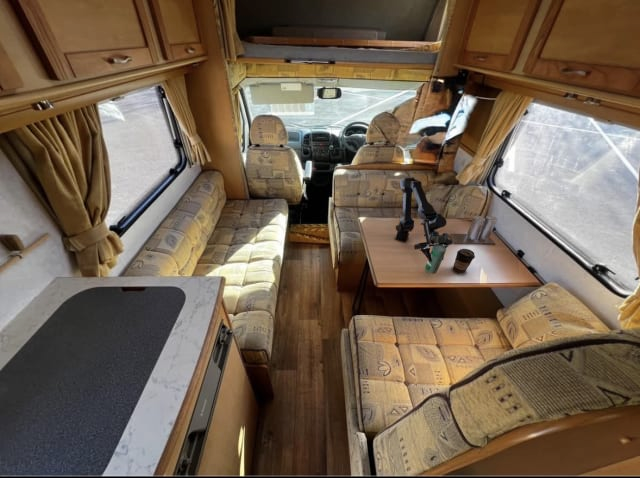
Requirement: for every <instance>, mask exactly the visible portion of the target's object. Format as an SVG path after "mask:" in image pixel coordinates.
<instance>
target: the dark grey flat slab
mask: <svg viewBox="0 0 640 478" xmlns="http://www.w3.org/2000/svg"><path fill="white" fill-rule="evenodd" d="M466 235H467V233H448V236H449V239H451V240H452V242H453V244H454V245H485V246H486V245H487V246H489V245H492V246H495V244H496V242H495V241H494V240H493V239H492V238H491V237H490V236H489V239H488V240H487V241H481V240H479V239H478V238H476V240H475V241H470V240H468V239H466ZM477 237H478V236H477Z"/></svg>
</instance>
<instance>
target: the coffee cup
mask: <svg viewBox="0 0 640 478" xmlns="http://www.w3.org/2000/svg"><path fill="white" fill-rule="evenodd" d="M474 259H476V255H475V252H474V251H473V250H471V249H468V248H460V249H459V250H457V251H456V256H455V260H454V263H453V267H452V271H453V272H454V273H456V274H457V275H465V274H466V273H467V269H468V268H469V267H470V265H471V263H472V262H473V260H474Z"/></svg>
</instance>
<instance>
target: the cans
mask: <svg viewBox="0 0 640 478" xmlns="http://www.w3.org/2000/svg"><path fill="white" fill-rule="evenodd" d="M497 221H498V218H497V217H495V216H493V215H486V217H483V216H481V215H474V216H473V218H472V220H471V223H470V225H469V227H468V230H467V233H466V234H467V235H466V239H468V240H470V241H475V240H476V238H478V239H479V240H481V241H487V240H488V239H489V237H490V236H491V234H492V232H493V231H494V228H495V226H496V224H497ZM477 236H478V237H477Z"/></svg>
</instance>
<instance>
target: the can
mask: <svg viewBox="0 0 640 478" xmlns="http://www.w3.org/2000/svg"><path fill="white" fill-rule="evenodd" d="M435 244H436V243H435ZM446 252H447V248H445V247H443V246H442V245H438V244H436V245H434V246H432V248H431V250H430V255H431V262H429V260H428V259H427V261H426V263H425V266H424V270H425V272H426V273H428V274H430V275H436V274H437V273H438V271H439V268H440V266H441V263H442V261H443V260H444V259H443V257H444V258H445V254H446ZM442 259H443V260H442Z"/></svg>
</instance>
